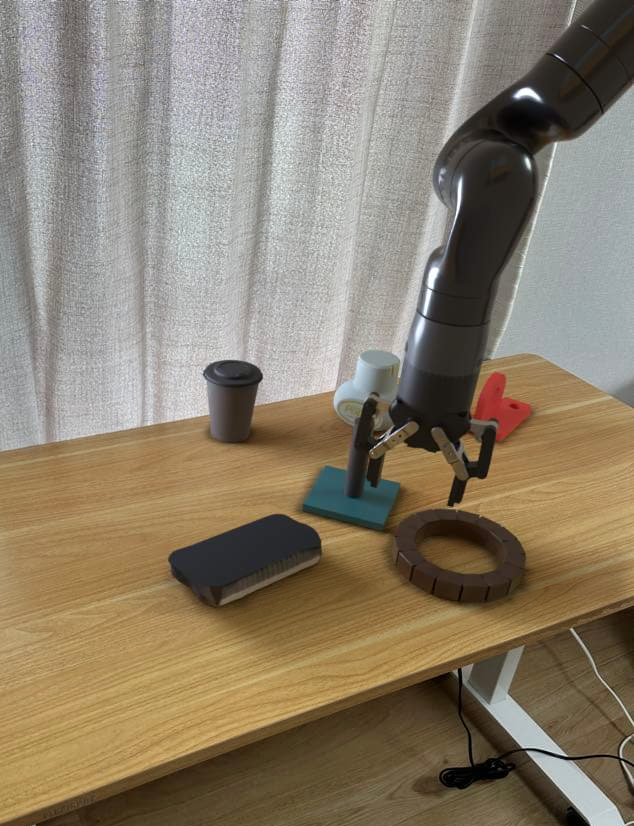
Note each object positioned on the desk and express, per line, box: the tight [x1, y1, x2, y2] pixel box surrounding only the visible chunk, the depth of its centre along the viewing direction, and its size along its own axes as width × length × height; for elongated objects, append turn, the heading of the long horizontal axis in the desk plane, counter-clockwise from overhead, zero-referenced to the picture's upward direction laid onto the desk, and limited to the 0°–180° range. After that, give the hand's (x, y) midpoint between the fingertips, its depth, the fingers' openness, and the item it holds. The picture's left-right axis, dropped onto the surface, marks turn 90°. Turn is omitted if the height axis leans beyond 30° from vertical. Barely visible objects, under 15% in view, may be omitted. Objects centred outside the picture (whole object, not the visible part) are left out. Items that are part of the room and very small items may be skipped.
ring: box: [390, 508, 527, 603], centre depth 91 cm, size 14×14×2 cm
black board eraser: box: [167, 513, 323, 607], centre depth 87 cm, size 16×8×4 cm, turn 126°
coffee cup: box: [202, 359, 264, 443], centre depth 110 cm, size 8×8×10 cm
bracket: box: [470, 371, 533, 443], centre depth 117 cm, size 12×4×8 cm, turn 141°
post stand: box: [301, 417, 402, 532], centre depth 97 cm, size 10×10×11 cm
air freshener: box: [333, 349, 401, 432], centre depth 114 cm, size 11×8×10 cm
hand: (412, 493), depth 89 cm, fingers open, 8 cm apart
